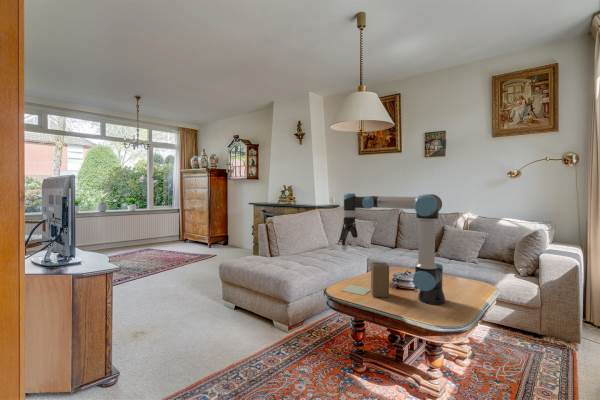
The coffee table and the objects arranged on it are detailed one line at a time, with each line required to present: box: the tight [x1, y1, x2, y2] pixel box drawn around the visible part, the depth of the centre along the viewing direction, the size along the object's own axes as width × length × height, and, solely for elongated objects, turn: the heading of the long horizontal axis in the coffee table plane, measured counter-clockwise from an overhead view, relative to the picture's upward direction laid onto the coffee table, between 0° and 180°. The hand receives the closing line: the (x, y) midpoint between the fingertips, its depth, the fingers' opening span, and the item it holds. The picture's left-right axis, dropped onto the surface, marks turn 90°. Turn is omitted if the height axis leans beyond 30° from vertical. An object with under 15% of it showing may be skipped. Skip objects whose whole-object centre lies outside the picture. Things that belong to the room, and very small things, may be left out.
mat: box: [341, 284, 371, 296], centre depth 209 cm, size 16×14×1 cm
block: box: [370, 261, 390, 299], centre depth 199 cm, size 10×10×20 cm
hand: (349, 248), depth 208 cm, fingers open, 13 cm apart
